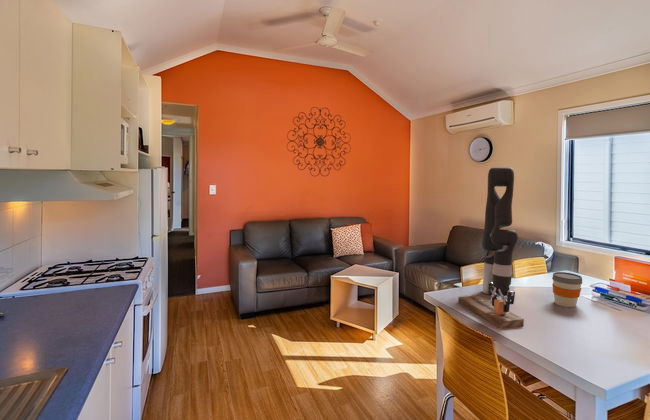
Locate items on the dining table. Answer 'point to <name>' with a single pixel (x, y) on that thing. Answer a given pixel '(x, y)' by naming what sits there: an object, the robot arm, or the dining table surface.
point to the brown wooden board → (490, 312)
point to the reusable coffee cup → (566, 288)
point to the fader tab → (499, 306)
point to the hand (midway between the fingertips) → (500, 308)
